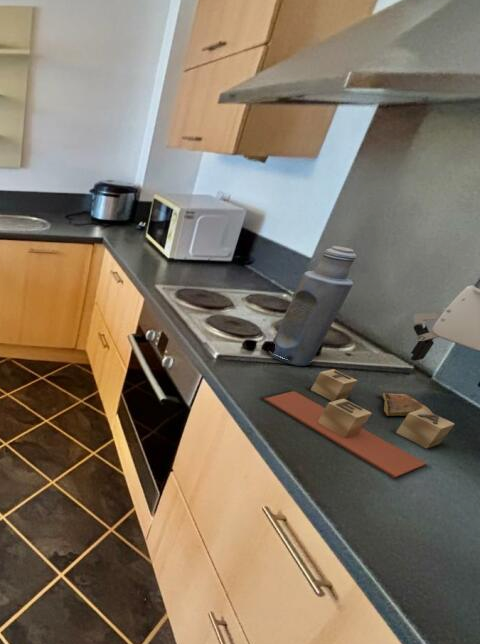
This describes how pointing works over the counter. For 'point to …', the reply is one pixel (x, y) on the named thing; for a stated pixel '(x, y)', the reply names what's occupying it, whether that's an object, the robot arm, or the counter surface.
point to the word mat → (359, 444)
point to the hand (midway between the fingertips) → (448, 372)
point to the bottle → (314, 307)
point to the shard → (401, 404)
